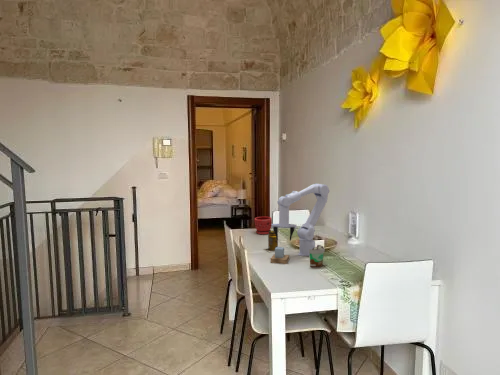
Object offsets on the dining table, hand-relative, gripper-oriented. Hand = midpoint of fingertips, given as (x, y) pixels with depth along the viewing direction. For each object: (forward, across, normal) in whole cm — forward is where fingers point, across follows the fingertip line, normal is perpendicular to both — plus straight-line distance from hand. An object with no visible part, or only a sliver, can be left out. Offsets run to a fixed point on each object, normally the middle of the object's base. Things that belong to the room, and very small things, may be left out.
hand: (283, 240), depth 214 cm
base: (+10, +2, +7) cm, 13 cm away
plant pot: (+10, +18, -62) cm, 65 cm away
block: (+8, +2, +7) cm, 11 cm away
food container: (+10, -20, +14) cm, 26 cm away
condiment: (+11, +8, -16) cm, 21 cm away
